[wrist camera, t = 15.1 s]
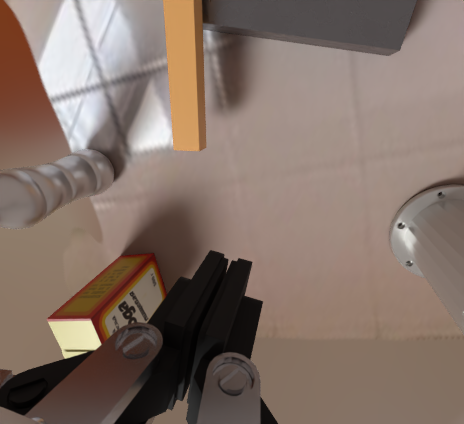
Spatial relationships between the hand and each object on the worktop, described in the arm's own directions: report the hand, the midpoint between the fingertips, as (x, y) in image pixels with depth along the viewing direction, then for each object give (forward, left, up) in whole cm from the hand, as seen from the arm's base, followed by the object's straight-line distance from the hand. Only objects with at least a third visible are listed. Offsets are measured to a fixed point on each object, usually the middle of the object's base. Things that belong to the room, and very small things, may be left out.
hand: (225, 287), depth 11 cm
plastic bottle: (+26, +7, -29) cm, 40 cm away
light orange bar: (+12, -11, -24) cm, 29 cm away
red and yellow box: (+18, +25, -29) cm, 43 cm away
